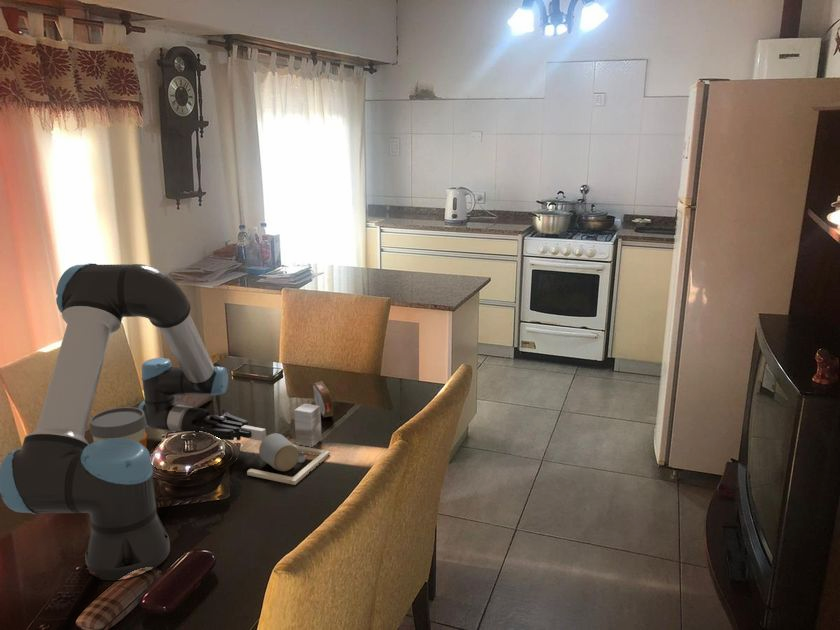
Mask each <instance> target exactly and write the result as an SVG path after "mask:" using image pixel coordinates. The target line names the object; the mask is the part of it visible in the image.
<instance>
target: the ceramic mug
mask: <svg viewBox="0 0 840 630" xmlns="http://www.w3.org/2000/svg"><path fill="white" fill-rule="evenodd" d="M294 445H295V444H293V442H291V441H290V440H288V438H286V437H285V436H284V435H283V434H280V433H277V432H275V433H270V434H268V435H266V438H264V440H263V441H261V442H260V445H259V447H258V448H259V450H258V451H259V452H258V453H259V456H260V458H261V460H262V461H264V462H265V463H267V464H268V465H269V466H271V467H272V468H273V469H274V470H276V471H279V472H287V471H290V470H291V469H293V468H294V467H295V466H296V465H297V463H300V464H301V463H305V461H306V458H307V454H306V453H302V452H301V451H298V450H297V448H296V447H295V446H294Z"/></svg>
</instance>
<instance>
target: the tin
mask: <svg viewBox="0 0 840 630" xmlns="http://www.w3.org/2000/svg"><path fill="white" fill-rule="evenodd" d="M312 389H313V400H314V403H315V404H314V405H317V406H320V413H321V416H322V418H329V417H333V415H334V405H333V401H332V396H331V393H330V391H329V389H328V388H327V386H326V385H325V384H324V382H323V381H322V380H320V381H317V382H314V383H312Z"/></svg>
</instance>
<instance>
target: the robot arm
mask: <svg viewBox="0 0 840 630" xmlns="http://www.w3.org/2000/svg"><path fill="white" fill-rule="evenodd" d="M55 292H56V293H55V294H56V295H57V297H55V298H56V299H55V301H56V305H57V309H58V310H59V312H60V313H61V317H62V320H63V321H64V322H65V323H66V328H65V331H64V333H63V337H62V341H61V345H60V348H59V351H58V353H57V354H58V355H57V357H56V361H55V365H54V368H53V372H52V375H51V378H50V382H49V385H48V387H47V392H46V396H45V397H44V398H45V399H44V402H43V405H42V409H41V411H40V416H39V419H38V422H37V425H36V428H35V430H33V431H32V432H30V433H28V434H26V435H25V437H24V439H23V442H22V445H21V449H20V448H17V449H14V450H11V451H9V452H8V453H7V455H6V456H4V458H3V460H2V461H1V464H0V494H1V499H2V500H3V502H4V504H5V506H6V507H8V508H9V509H10V510H11V511H13V512H16V513H25V514H32V515H40V514H89V519H90V520H89V521H90V525H91V529H90V530H91V531H90V534H89V539H88V546H87V549H86V551H85V555H84V557H85V559H84V560H85V566H86V565H87V566H88V567H89V568H90V569H93V570H95V571H97V572H98V574H99V577H100V579H99V580H103V581H119V580H118V579H120V578H122V577H123V576H125V575H127V574H128V573H130V572H132V571H134V570H137V569H140V568H145V567H153V568H154V569H156V568H157V567H159V566H160V565H162V563H163V562H164V561H165V560H166V559H167V558H168V557H169V555H170V552H171V544H170V536H169V535H168V532H167V531H166V529H165V527H164V525H163V523H162V521H161V519H160V517H159V515H158V513H157V512H158V511H157V504H156V503H157V502H156V495H155V483H154V474H153V473H154V467H153V464H152V460H151V455H150V454H151V453H150V451H149V450H148V448H147V446H146V447H145V446H144V445H142V444H141V443H139V442H137V441H134V440H131V439H124V438H110V439H107V440H99V441H96V442H93V441H92V442H91V443H90V444H89V442H88V440H87V439H86V437H85V434H86V430H87V426H88V423H89V419H90V415H91V411H92V408H93V403H94V400H95V395H96V391H97V389H98V384H99V380H100V376H101V372H102V369H103V366H104V365H103V364H104V360H105V357H106V352H107V350H108V345H109V340H110V336H111V335H112V334H113V333H115V332H117V331H118V330H119V329H120V328H121V325H122V321H123V318H129V317H130V318H135V317H137V318H138V317H140V318H145V319H148V320H149V321H150V322H149V323H151V324H152V326H153V327H156V328H158V329H159V330H160V332H161V334H162V336H163V337H164V339H165V342H166V343H167V345H168V347H169V349H170V350H171V352H172V354H173V356H174V357H175V359H176V361H177V363H178V365H179V366H173V364H172V361H171V360H170V359H169V358H167V357H166V358H164V357H155V358H151V359H148V360H146V361H144V362H143V363H142V365H141V376H142V377H141V381H142V389H143V395H144V400H143V401H142V402H141V403H140V404H139V405H138V407H137V408H139V409H142V410H143V411H144V413H145V418H146V422H147V425H146V427H148V428H150V429H152V430H161V431H166V432H170V433H175V432H176V431H195V432H199V431H203V432H207V433H210V434H212V435H214V436H216V437H218V438H220V439H221V441H234V439H235V438H236V441H237V442H238V441H241V438H246V439H251V440H255V441H260V442H262V441H263V440H264V438H266V437H267V431H266V430H267V429H266V428H261V427H256V426H252V425H249V421H248V420H246V419H243V418H241V417H238V416H235V415H232V414H230V413H229V412H226V411H225V412H224V413H223V415H221V416H219V415H218V414H210V413H209V411H208V410H207V409H205V408H200V407H198V408H196V407H191V406H185V405H179V404H175V402H174V398H175V397H174V395H211V396H217V395H221V396H222V395H224V394H225V393H226V391H227V389H228V387H229V373H228V370H227V368H226V367H223V366H218V365H216V366H215V364H214V363H213V361H212V359H211V357H210V355H209V353H208V351H207V349H206V347H205V343H204V342H203V340H202V337H201V335H200V333H199V331H198V329H197V326H196V324H195V322H194V320H193V318H192V316H191V312H192V305H191V303H190V300H189V299H188V296H187V295H186V293H185V292H184V290H183V289H182V287H181V286H180V285H179V284H178V283H176V281H174V279H172V278H171V277H170V276H169V275H167V274H166V273H164V272H162V271H161V270H159V269H157V268H156V267H153V266H150V265H147V264H140V263H132V264H130V263H129V264H97V263H91V262H90V263H86V264H75V265H73V266H71V267H69V268H67V269H66V270H65V271H64V272H63V273H62V275H61V276H60V278H59V280H58V283H57V285H56V290H55ZM146 427H145V428H146ZM220 439H219V440H220Z"/></svg>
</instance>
